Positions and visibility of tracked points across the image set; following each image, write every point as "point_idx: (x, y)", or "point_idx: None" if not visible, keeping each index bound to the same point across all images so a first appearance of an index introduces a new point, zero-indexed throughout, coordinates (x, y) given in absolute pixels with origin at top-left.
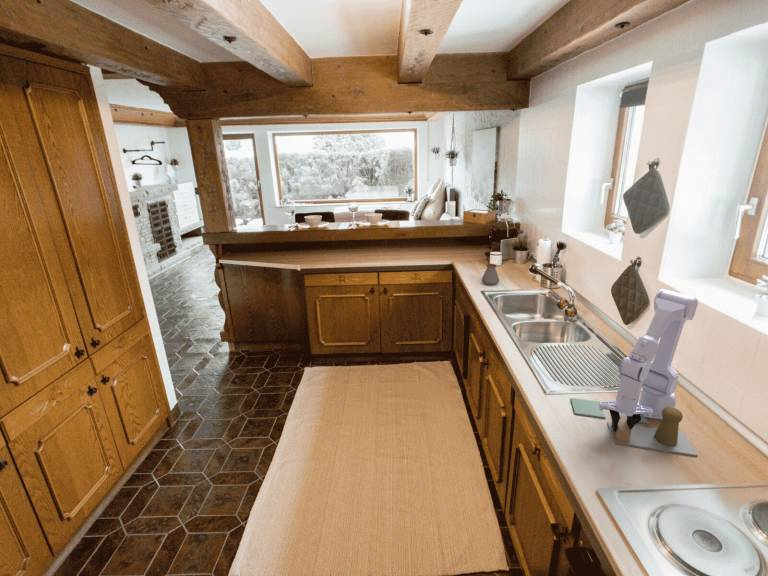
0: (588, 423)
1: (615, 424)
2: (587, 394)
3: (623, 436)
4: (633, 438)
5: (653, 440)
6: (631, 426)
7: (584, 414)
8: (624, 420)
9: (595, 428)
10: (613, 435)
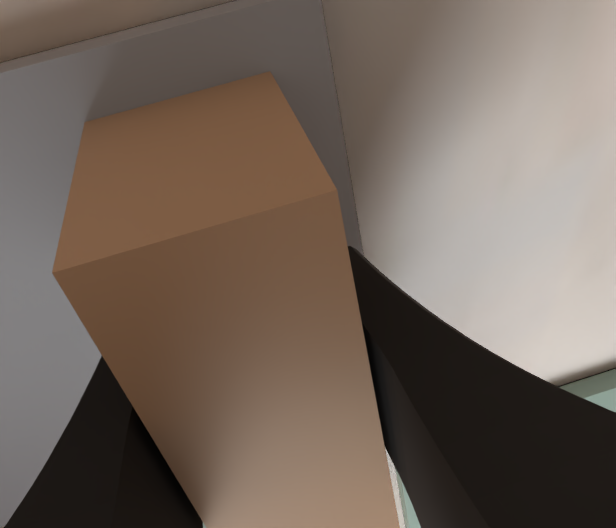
0: (592, 281)
1: (428, 339)
2: None
3: (205, 143)
4: (33, 271)
5: None
6: (85, 451)
7: (609, 387)
8: (239, 523)
9: (535, 233)
10: (337, 183)
